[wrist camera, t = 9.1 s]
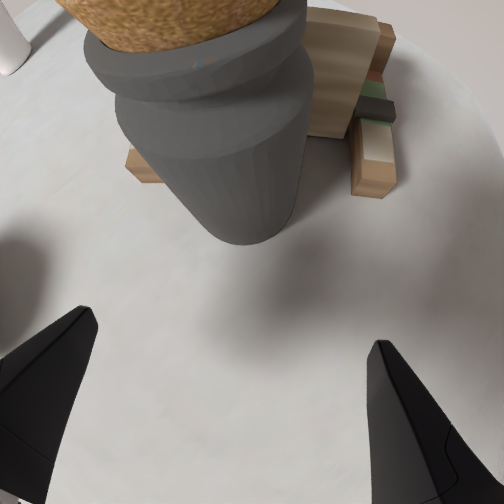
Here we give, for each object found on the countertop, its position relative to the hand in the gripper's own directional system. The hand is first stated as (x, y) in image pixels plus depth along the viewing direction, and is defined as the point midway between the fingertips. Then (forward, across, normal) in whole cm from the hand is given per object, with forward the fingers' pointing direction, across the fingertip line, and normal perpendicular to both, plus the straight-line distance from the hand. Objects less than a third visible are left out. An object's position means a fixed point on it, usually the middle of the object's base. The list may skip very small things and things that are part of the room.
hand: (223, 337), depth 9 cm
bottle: (+11, +1, 0) cm, 11 cm away
